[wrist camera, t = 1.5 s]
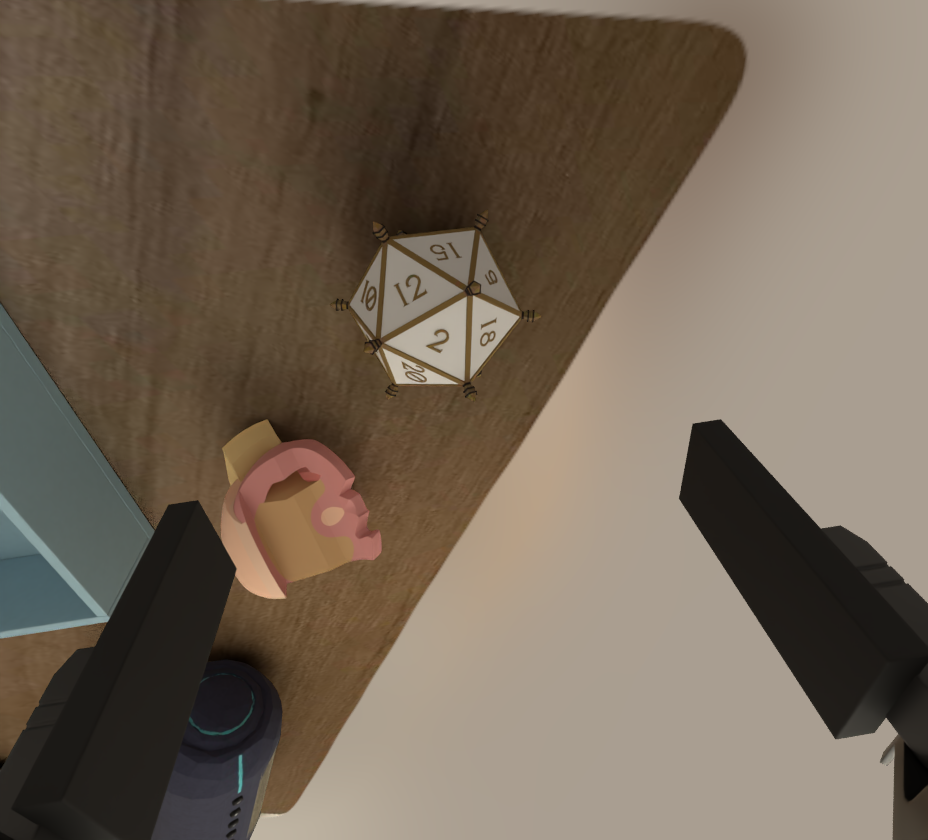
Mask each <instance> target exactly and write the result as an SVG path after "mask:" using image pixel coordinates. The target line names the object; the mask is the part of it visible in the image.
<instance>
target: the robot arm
mask: <svg viewBox="0 0 928 840" xmlns="http://www.w3.org/2000/svg"><path fill="white" fill-rule="evenodd" d="M679 499H680V501H681V502H682V504H683V505H684V507H685V509H686V510H687V511H688V513H689V515H690V516H691V518H692V519H693V521H694V522H695V524H696V525H697V527H698V529H699V530H700V531H701V533H702V535H703V536H704V538H705V539H706V541H707V542H708V544H709V545H710V547H711V548H712V550H713V552H714V553H715V555H716V556H717V558H718V559H719V561H720V562H721V564H722V565H723V567H724V568H725V570H726V572H727V573H728V575H729V576H730V578H731V579H732V581H733V582H734V584H735V586H736V587H737V589H738V590H739V592H740V593H741V595H742V596H743V598H744V599H745V601H746V602H747V604H748V606H749V607H750V609H751V610H752V612H753V613H754V615H755V616H756V618H757V619H758V621H759V622H760V624H761V625H762V627H763V629H764V630H765V632H766V633H767V635H768V636H769V638H770V639H771V641H772V642H773V644H774V645H775V647H776V649H777V650H778V652H779V653H780V655H781V656H782V658H783V659H784V661H785V662H786V664H787V665H788V667H789V669H790V670H791V672H792V673H793V675H794V676H795V678H796V679H797V681H798V682H799V684H800V685H801V687H802V688H803V690H804V692H805V693H806V695H807V696H808V698H809V699H810V701H811V702H812V704H813V706H814V707H815V708H816V710H817V712H818V713H819V715H820V716H821V718H822V719H823V721H824V723H825V724H826V725H827V727H828V729H829V730H830V732H831V733H832V735H833V736H834V738H835V739H841V738H847V737H853V736H858V735H864V734H869V733H875V731H876V730H877V729H878V727H879V726H880V725H881V723H882V722H883V721H884V719H885V718H887V719H888V720H889V722H890V723H891V724H892V726H893V727H894V728H895V730H896V731H897V732H898V735H897V736H896V738H895V739H894V740H893V742H892V743H891V744H890V745H889V746H888V747H887V749H886V750H885V751H884V752H883V755H882V758H881V761H880V763H882V764H884V765H888V764H889V763H890V762H891V761H892V760H893V759H894V802H893V840H928V603H927V602H926V601H925V600H924V599H923V598H922V597H921V596H920V595H919V594H918V593H917V592H916V591H915V590H914V589H913V588H912V587H911V586H910V585H909V584H906V583H905V582H904V579H903V578H902V577H901V576H900V575H899V574H898V573H897V572H896V571H895V570H894V569H893V568H892V567H891V566H890V567H889V566H888V565H887V562H886V561H885V560H884V558H883V557H882V556H880V554H879V553H878V552H877V551H876V550H875V549H874V548H873V547H872V546H871V545H870V544H869V543H868V542H867V541H865V540H863V539H862V538H860V537H858V536H857V535H855V534H853V533H852V532H850V531H849V530H847V529H845V528H844V527H842V526H835V527H828V528H822V529H821V528H820V527H819V526H818V525H817V524H816V523H815V522H814V521H813V520H812V519H811V518H810V516H809V515H808V514H807V513H806V512H805V511H804V510H803V509H802V508H801V507H800V506H799V504H798V503H797V502H796V501H795V500H794V499H793V498H792V497H791V496H790V495H789V493H787V491H786V490H785V489H784V488H783V487H782V486H781V485H780V484H779V482H778V481H777V480H776V479H775V478H774V477H773V476H772V475H771V474H770V473H769V472H768V471H767V469H766V468H765V467H764V466H763V465H762V464H761V463H760V462H759V461H758V459H757V458H756V457H755V456H754V455H753V454H752V453H751V452H750V451H749V450H748V449H747V447H746V446H745V445H744V444H743V443H742V442H741V441H740V440H739V439H738V438H737V436H736V435H735V434H734V433H733V432H732V431H731V430H730V429H729V428H728V427H727V425H725V423H724V422H723V421H722V420H714V421H708V422H701V423H695V424H693V426H692V431H691V436H690V442H689V447H688V453H687V458H686V464H685V469H684V475H683V480H682V486H681V491H680V496H679ZM236 570H237V568H236V566H235V564H234V563H233V561H232V559H231V557H230V556H229V554H228V552H227V550H226V549H225V547H224V545H223V543H222V542H221V540H220V538H219V536H218V534H217V533H216V531H215V529H214V527H213V526H212V524H211V522H210V520H209V519H208V517H207V515H206V513H205V512H204V510H203V508H202V506H201V505H200V503H199V501H198V500H197V501H190V502H184V503H178V504H171V505H168V507H167V509H166V511H165V513H164V515H163V517H162V518H161V520H160V522H159V524H158V526H157V528H156V530H155V532H154V534H153V536H152V538H151V540H150V542H149V543H148V545H147V547H146V549H145V551H144V553H143V555H142V557H141V559H140V561H139V563H138V565H137V567H136V569H135V570H134V572H133V574H132V576H131V578H130V580H129V582H128V584H127V586H126V588H125V590H124V592H123V594H122V595H121V597H120V599H119V601H118V603H117V605H116V607H115V609H114V611H113V613H112V615H111V617H110V619H109V621H108V622H107V624H106V626H105V628H104V630H103V632H102V634H101V636H100V638H99V640H98V642H97V644H96V646H95V647H90V648H84V649H78V650H76V651H75V652H74V654H73V655H72V656H71V657H70V658H69V659H68V660H67V661H66V662H65V663H64V664H63V666H62V667H61V668H60V669H59V670H58V671H57V672H56V673H55V674H54V676H53V678H52V679H51V681H50V683H49V685H48V687H47V688H46V690H45V692H44V694H43V695H42V697H41V699H40V701H39V706H38V707H36V708H35V710H34V711H33V713H32V715H31V717H30V719H29V720H28V722H27V724H26V725H27V728H26V729H25V730H23V731H22V733H21V735H20V736H19V738H18V740H17V742H16V743H15V745H14V747H13V749H12V751H11V752H10V754H9V756H8V758H7V759H6V761H5V763H4V765H3V767H2V768H1V770H0V840H151V837H152V834H153V831H154V828H155V825H156V822H157V819H158V815H159V812H160V809H161V806H162V803H163V800H164V797H165V793H166V790H167V787H168V784H169V781H170V778H171V775H172V771H173V768H174V765H175V762H176V759H177V756H178V752H179V749H180V746H181V743H182V740H183V737H184V734H185V730H186V727H187V724H188V721H189V718H190V715H191V712H192V708H193V705H194V702H195V699H196V696H197V693H198V690H199V686H200V683H201V680H202V677H203V674H204V671H205V668H206V664H207V661H208V658H209V655H210V652H211V649H212V645H213V642H214V639H215V636H216V633H217V630H218V627H219V623H220V620H221V617H222V614H223V611H224V608H225V605H226V601H227V598H228V595H229V592H230V589H231V586H232V583H233V579H234V576H235V573H236Z"/></svg>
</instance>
